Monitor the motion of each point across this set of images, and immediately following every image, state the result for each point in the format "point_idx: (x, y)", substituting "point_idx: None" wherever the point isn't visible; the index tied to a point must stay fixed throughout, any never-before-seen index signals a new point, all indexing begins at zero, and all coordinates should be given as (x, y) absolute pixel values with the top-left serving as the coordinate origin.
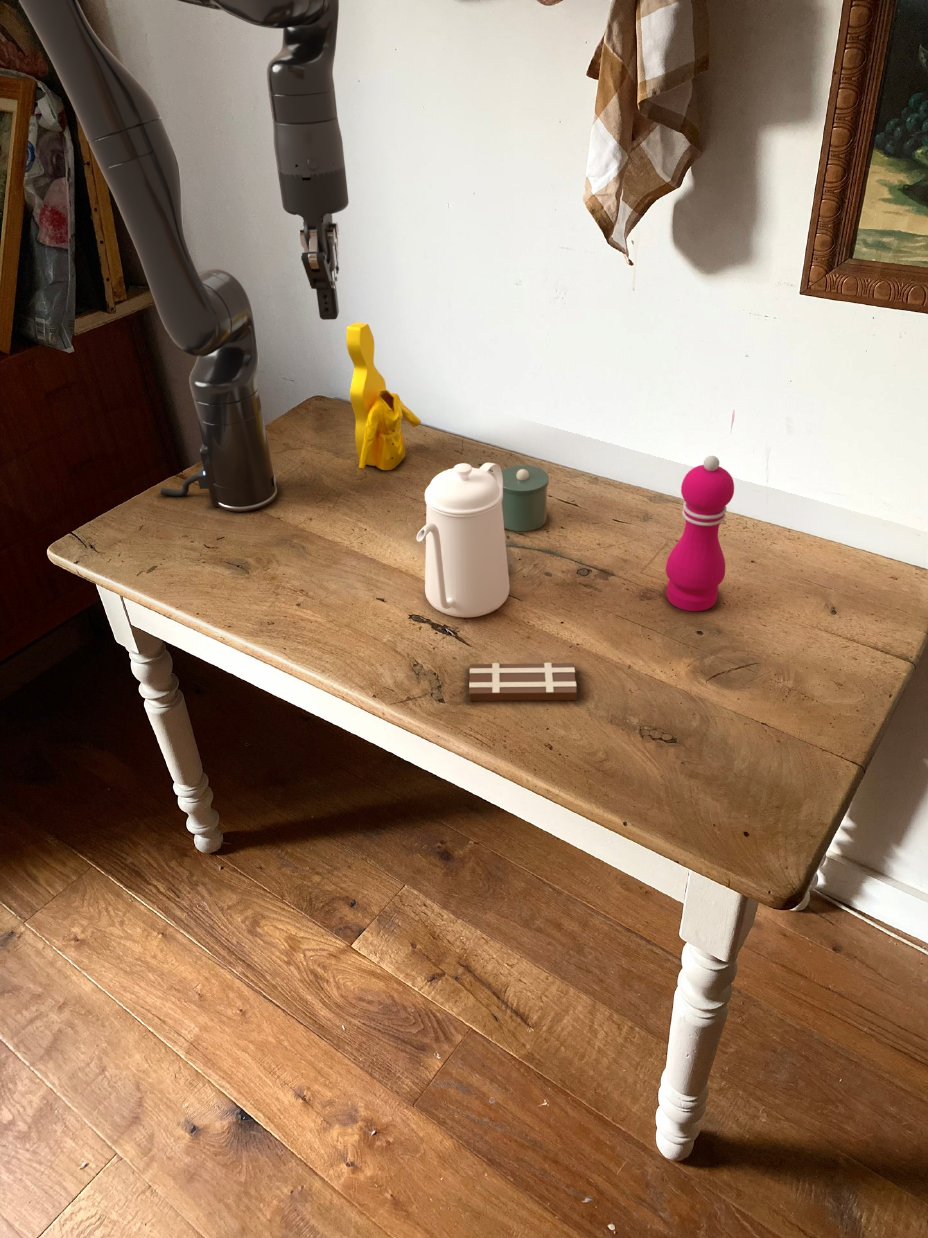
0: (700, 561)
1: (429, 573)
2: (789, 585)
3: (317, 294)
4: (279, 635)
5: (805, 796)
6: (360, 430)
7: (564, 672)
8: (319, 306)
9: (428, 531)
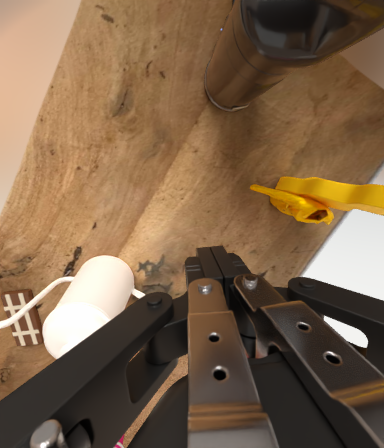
0: None
1: (81, 271)
2: (140, 424)
3: (204, 272)
4: (39, 162)
5: None
6: (294, 183)
7: (32, 339)
8: (199, 259)
9: None
